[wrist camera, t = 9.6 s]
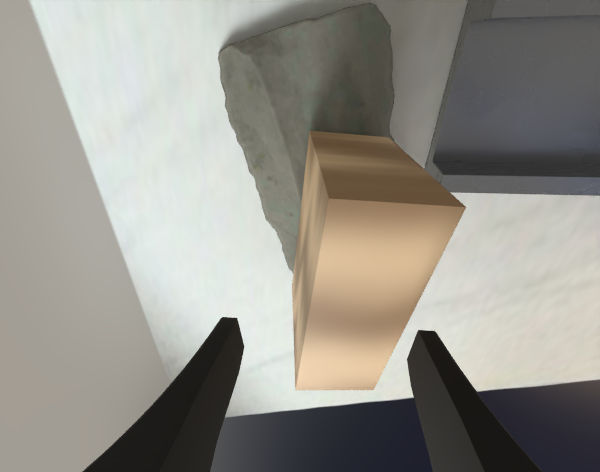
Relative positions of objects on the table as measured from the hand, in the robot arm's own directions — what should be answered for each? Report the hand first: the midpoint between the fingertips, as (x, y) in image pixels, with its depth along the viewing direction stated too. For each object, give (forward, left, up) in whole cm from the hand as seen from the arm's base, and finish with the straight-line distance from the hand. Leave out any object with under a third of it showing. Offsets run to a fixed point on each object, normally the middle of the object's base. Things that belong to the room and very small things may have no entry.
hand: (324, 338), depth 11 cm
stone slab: (0, 0, -12) cm, 12 cm away
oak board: (0, 0, -9) cm, 9 cm away
